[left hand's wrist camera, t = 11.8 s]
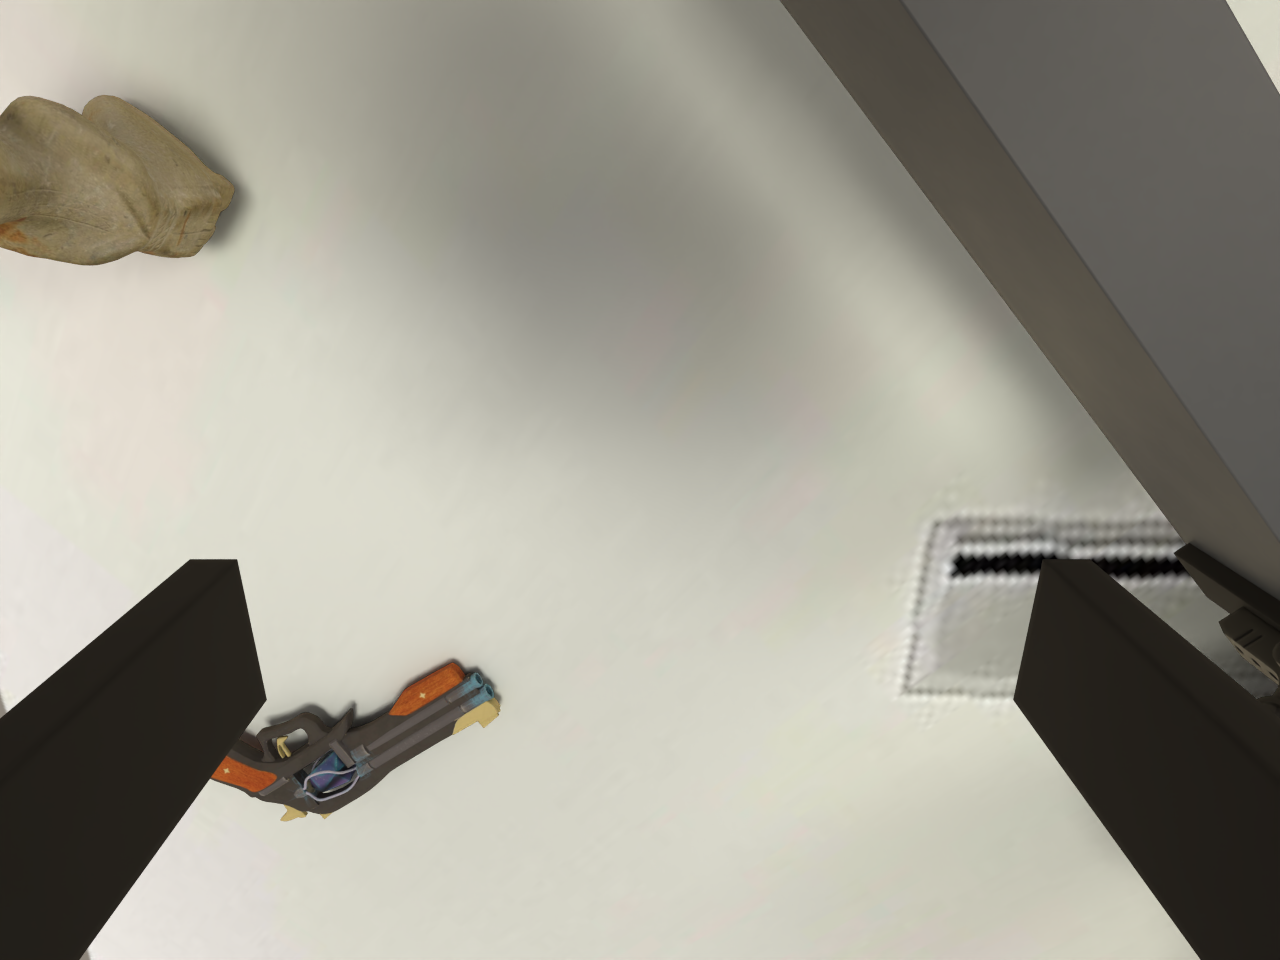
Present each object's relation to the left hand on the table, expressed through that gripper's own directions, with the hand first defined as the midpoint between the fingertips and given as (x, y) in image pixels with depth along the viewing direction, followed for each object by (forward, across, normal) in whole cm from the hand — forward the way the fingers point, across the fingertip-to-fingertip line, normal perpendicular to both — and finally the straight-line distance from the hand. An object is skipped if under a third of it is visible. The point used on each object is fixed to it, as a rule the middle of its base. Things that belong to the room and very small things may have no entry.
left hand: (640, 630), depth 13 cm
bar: (+17, +15, +5) cm, 24 cm away
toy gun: (+29, -19, -24) cm, 42 cm away
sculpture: (+29, -22, +7) cm, 37 cm away
